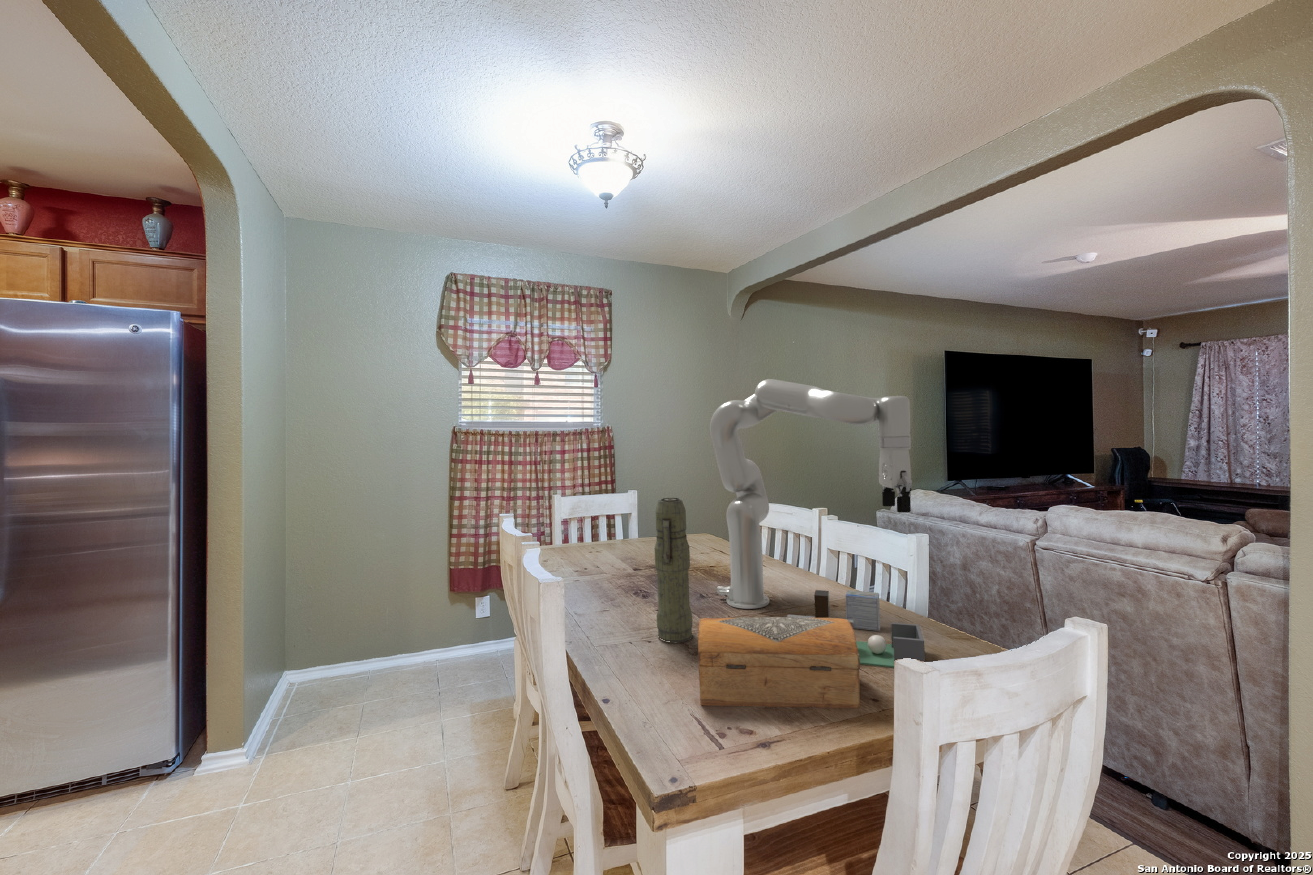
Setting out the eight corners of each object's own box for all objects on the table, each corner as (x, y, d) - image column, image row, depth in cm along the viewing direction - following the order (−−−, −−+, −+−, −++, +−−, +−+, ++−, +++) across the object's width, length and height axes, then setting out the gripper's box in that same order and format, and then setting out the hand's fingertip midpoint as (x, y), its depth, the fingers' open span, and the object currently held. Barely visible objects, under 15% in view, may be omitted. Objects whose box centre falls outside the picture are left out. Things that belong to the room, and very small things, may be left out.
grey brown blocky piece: (787, 645, 130) (785, 593, 129) (789, 638, 134) (787, 587, 133) (854, 652, 125) (852, 598, 124) (854, 644, 129) (852, 592, 128)
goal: (894, 665, 119) (893, 638, 119) (891, 647, 128) (890, 622, 128) (925, 668, 117) (924, 640, 117) (920, 650, 126) (919, 624, 126)
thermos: (694, 627, 145) (689, 495, 144) (690, 646, 134) (685, 502, 133) (661, 627, 147) (656, 496, 146) (654, 645, 135) (648, 502, 134)
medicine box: (880, 625, 142) (879, 592, 142) (879, 631, 138) (878, 597, 138) (848, 622, 146) (847, 589, 145) (846, 628, 142) (845, 594, 141)
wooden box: (843, 671, 118) (841, 606, 118) (862, 711, 102) (860, 637, 101) (702, 668, 122) (700, 606, 122) (699, 707, 106) (696, 635, 105)
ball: (868, 655, 124) (867, 638, 124) (867, 648, 128) (867, 631, 128) (887, 657, 123) (886, 639, 122) (886, 650, 126) (885, 633, 126)
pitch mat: (850, 663, 121) (850, 661, 121) (850, 642, 133) (850, 640, 133) (920, 670, 117) (920, 668, 117) (914, 648, 128) (914, 646, 128)
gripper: (868, 442, 153) (869, 504, 153) (893, 445, 135) (894, 515, 136) (896, 441, 152) (897, 503, 153) (924, 444, 135) (925, 514, 136)
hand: (896, 509), depth 144 cm, fingers open, 9 cm apart
